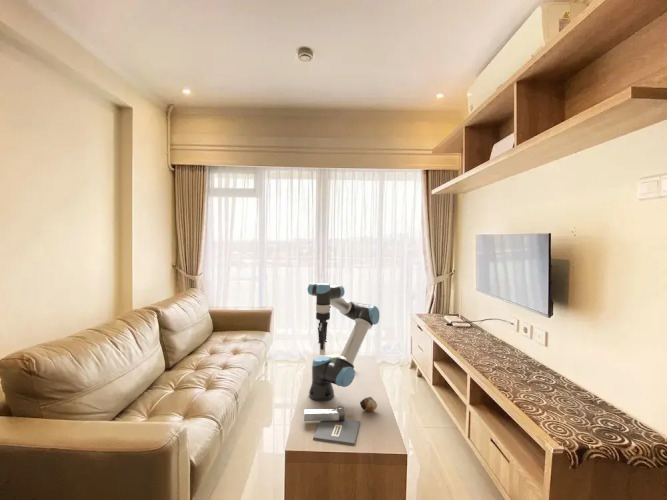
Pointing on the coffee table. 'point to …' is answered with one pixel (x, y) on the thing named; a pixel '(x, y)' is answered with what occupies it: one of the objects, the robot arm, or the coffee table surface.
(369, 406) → the seashell
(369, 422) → the coffee table surface
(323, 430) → the panel
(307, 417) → the swing bar
